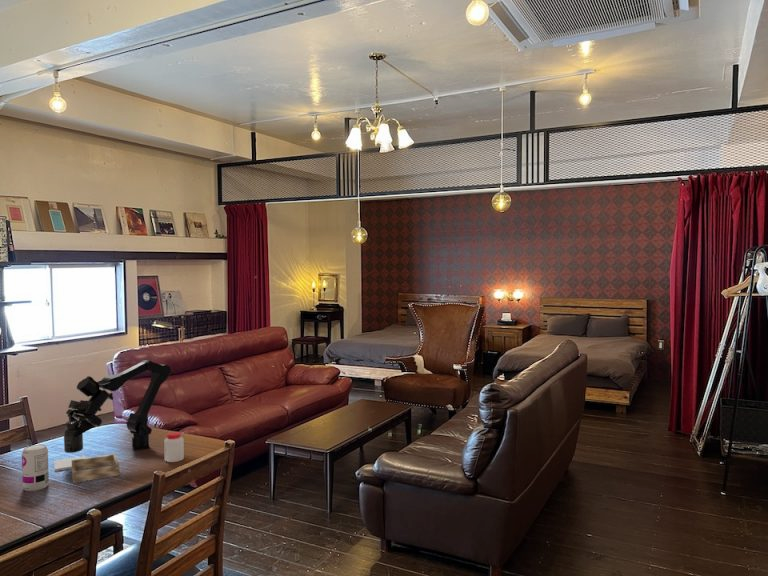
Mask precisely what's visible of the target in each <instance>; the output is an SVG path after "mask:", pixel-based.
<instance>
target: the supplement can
mask: <svg viewBox="0 0 768 576" xmlns="http://www.w3.org/2000/svg"><path fill="white" fill-rule="evenodd" d="M21 464H22V465H21V472H22V473H21V474H22V475H21V477H22V478H21V479H22V490H24V491H26V492H36V491H40V490H44V489H45V488H47V487H48V486H49V485H50V484H49V482H50V479H49V478H50V477H49V449H48V447H47V445H46V444H34V445H28V446H26V447H24V448H23V451H22V453H21Z"/></svg>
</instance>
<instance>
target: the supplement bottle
mask: <svg viewBox="0 0 768 576" xmlns="http://www.w3.org/2000/svg"><path fill="white" fill-rule="evenodd" d="M80 422H81V421H80ZM80 422H79V421H78V420H74V421H69V420H68V421H67V422H65V424H66V425H65V429H64V431H63V449H64V452H65V453H67V454H68V453H69V454H73V453H78V452H81V451H83V449H84V435H83V434H84V433H82V434H81V435H79V436H77V437H74V434H75V432H76V431H77V429H78V428H79V426H80V425H81V424H80Z"/></svg>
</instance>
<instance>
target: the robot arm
mask: <svg viewBox="0 0 768 576" xmlns="http://www.w3.org/2000/svg"><path fill="white" fill-rule="evenodd" d="M146 371H148V372H150V382H149V384H148V386H147V388H146V391H145V393H144V395H143V397H142V399H141V401H140V403H139V406H138V408H137V410H136V411H134V413H133V412H131V413H130V414H129V416H128V418H127V420H126V428H127V429H128V431H130V434H132V437H131V447H132V449H133V450H134V451H136V450H137V451H138V450H142V449H149V448H150V447H151V446H150V443H149V442H150V437H149V435H151V434H152V431H153V428H151V427H150V426H149V425H148V422H149V413H150V411H151V407H152V405H154V404H153V403H154V402H155V399H156V397H157V395H158V393H159V391H160V388H161V386H162V385H163V383H165V382H166V381H167V380H168V379H169V376H170V375H171V373H172V369H171V366H170V365H168V364H161V363H156V362H154V361H151V360H148V359H147V360H145V359H144V360H142V361H140V362H138V363H137V364H135V365H133V366H131V367H130V368H127V369H125V370H123V371H121V372H119V373H115V374H111V375H108V376H104V377H103V378H102V379H101V380H99V381H96V380H95V379H94V378H93V377H92V376H91V375H88V376H86V377H85V378H83V379H81V380H80V381H79V382H78V383H77V386H76V389H77V390H78V391H79V392H80V393H82V394H83V395H85V396H86V397H87V398H88V400H82V399H81V400H80V401H77V400H72V399H70V402H69V404H68V409H67V411H66V412H65V415H67V417H68V421H74V420H78V421H79V422H80V426H79V428H78V429H77V431H76V432H75V434H74V437H77V436H79V435H81V434H82V433H83V434H84V433H86V432H88V431H89V430H91V429H93V428H96V427H97V428H100V426H101V425H102V424H103V419H101V418H100V417H99V416H97V415H96V414H97V413H98V412H102V410H103V409H102V406H104V403H106V402H107V400H110V401H112V400H114V396H113V394H114V393H113V392H116V391H118V390H119V389H121V388H122V387H123V386H124V385H125V383H126V382H128V381H130V380H131V379H133V378H135V377H137V376H139V375H141V374H143V373H146ZM108 391H110V392H108ZM89 397H90V398H89Z"/></svg>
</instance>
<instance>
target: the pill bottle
mask: <svg viewBox="0 0 768 576" xmlns="http://www.w3.org/2000/svg"><path fill="white" fill-rule="evenodd" d="M184 440H185V439H184V437H183V436H181V431H171V432H167V434H166V438H164V440H163V441H164V442H163V443H164V444H163V447H164V449H163V450H164V451H163V452H164V461H165V462H166V461H167V463H175V462H180V461H182V460H184V459H185V452H184V451H185V450H184V449H185V448H184V447H185V446H184Z"/></svg>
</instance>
